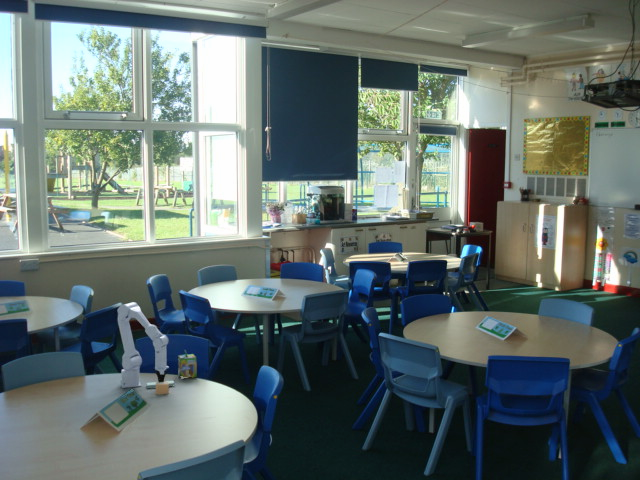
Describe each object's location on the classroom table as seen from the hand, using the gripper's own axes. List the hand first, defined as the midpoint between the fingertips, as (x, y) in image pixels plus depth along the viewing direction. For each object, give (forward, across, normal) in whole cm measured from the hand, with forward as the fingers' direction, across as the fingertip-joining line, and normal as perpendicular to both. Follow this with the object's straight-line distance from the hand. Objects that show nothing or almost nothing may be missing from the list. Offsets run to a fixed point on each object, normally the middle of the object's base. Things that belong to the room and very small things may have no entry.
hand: (161, 384), depth 333 cm
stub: (+3, -6, 0) cm, 6 cm away
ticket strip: (+3, +5, 0) cm, 6 cm away
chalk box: (+3, +19, -16) cm, 25 cm away
